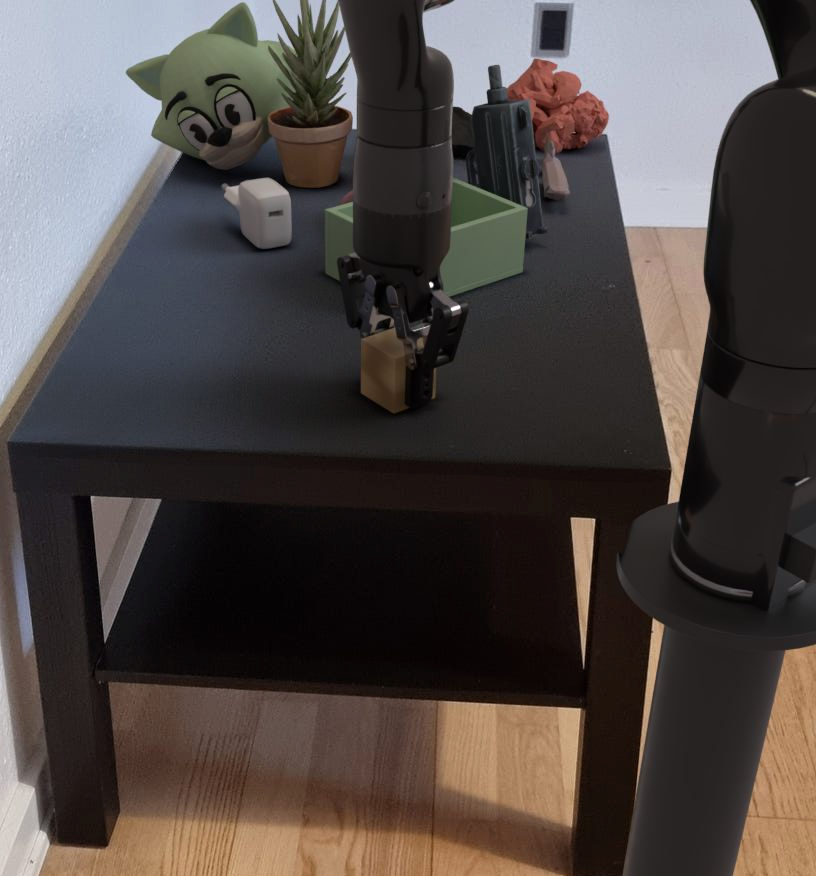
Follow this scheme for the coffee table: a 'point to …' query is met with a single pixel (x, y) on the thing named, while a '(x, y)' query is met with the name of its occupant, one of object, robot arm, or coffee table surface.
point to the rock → (461, 132)
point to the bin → (455, 239)
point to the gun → (506, 152)
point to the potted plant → (311, 102)
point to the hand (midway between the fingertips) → (397, 392)
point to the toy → (217, 90)
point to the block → (386, 370)
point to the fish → (553, 174)
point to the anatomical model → (559, 107)
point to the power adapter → (262, 211)
